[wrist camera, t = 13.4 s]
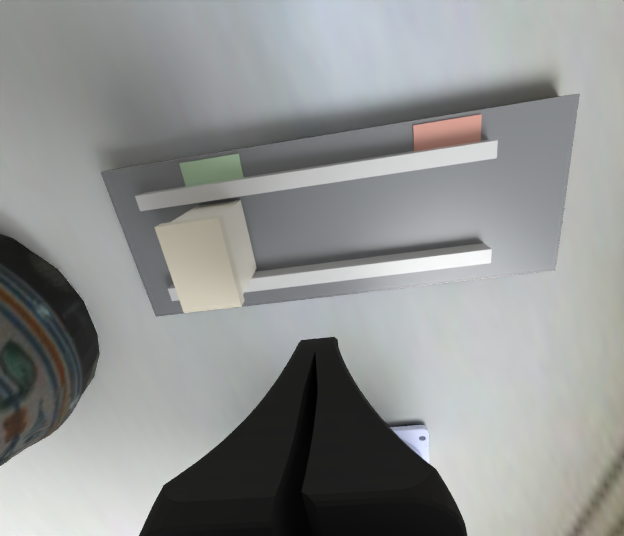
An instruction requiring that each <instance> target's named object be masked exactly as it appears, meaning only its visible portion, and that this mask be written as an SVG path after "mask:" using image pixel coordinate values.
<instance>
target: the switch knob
mask: <svg viewBox="0 0 624 536" xmlns="http://www.w3.org/2000/svg"><path fill="white" fill-rule="evenodd" d="M154 228H155V231H156V234H157V236H158V239H159V242H160V245H161V248H162V251H163V254H164V257H165V260H166V263H167V266H168V268H169V271H170V274H171V277H172V280H173V283H174V286H175V289H176V292H177V295H178V298H179V300H180V303H181V306H182V309H183V312H184V313H190V312H199V311H208V310H216V309H225V308H234V307H242V305H243V303H244V296H243V294H244V292H245V290H246V288H247V286H248V284H249V282H250V280H251V278H252V276H253V274H254V272H255V270H256V268H257V267H256V263H255V259H254V254H253V250H252V246H251V242H250V237H249V233H248V229H247V224H246V220H245V216H244V212H243V207H242V203H241V200H236V201H229V202H222V203H216V204H209V205H202V206H196V207H194V208H193V209H191V210H189V211H188V212H186V213H185V214H183V215H181V216H180V217H178V218H176V219H175V220H173V221H171V222H169V223H162V224H159V225H158V226H156V227H154Z"/></svg>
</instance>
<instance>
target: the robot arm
mask: <svg viewBox="0 0 624 536" xmlns="http://www.w3.org/2000/svg"><path fill="white" fill-rule="evenodd" d="M139 536H467V532H466V526H465V523H464V520H463V518H462V515H461V513H460V511H459V509H458V507H457V505H456V503H455V501H454V499H453V497H452V495H451V493H450V491H449V490H448V488H447V486H446V484H445V483H444V481H443V480H442V478H441V476H440V475H439V473H438V472H437V470H436V469H435V468H434V467H433V466H431V465H430V461H429V432H428V429H427V427H426V426H424V425H414V426H400V427H389V426H388V425H387V424H386V423H385V422H384V421H383V420H382V418H381V417H380V416H379V415H378V414H377V412H376V411H375V410H374V409H373V407H372V406H371V405H370V404H369V402H368V401H367V400H366V398H365V397H364V395H363V394H362V392H361V391H360V389H359V388H358V386H357V385H356V383H355V381H354V380H353V378H352V376H351V375H350V373H349V371H348V369H347V367H346V365H345V363H344V361H343V358H342V356H341V353H340V351H339V347H338V341H337V339H336V338H335V337H329V338H319V339H309V340H301V341H300V342H299V344H298V346H297V348H296V349H295V351H294V353H293V355H292V357H291V358H290V360H289V362H288V363H287V365H286V367H285V368H284V370H283V371H282V373H281V374H280V376H279V378H278V379H277V380H276V382H275V383H274V385H273V386H272V387H271V389H270V390H269V392H268V393H267V394H266V396H265V397H264V398H263V399H262V401H261V402H260V403H259V404H258V406H257V407H256V408H255V409H254V410H253V411H252V412H251V414H250V415H249V416H248V417H247V418H246V419H245V420H244V421H243V422H242V423H241V424H240V425H239V426H238V427H237V428H236V429H235V430H234V431H233V432H232V433H231V434H230V435H229V436H228V437H227V438H225V439H224V440H223V441H222V442H221V443H220V444H219V445H217V446H216V447H215V448H214V449H213V450H211V451H210V452H209V453H208V454H206V455H205V456H204V457H203V458H201V459H200V460H199V461H198V462H196V463H195V464H193V465H192V466H191V467H189V468H188V469H186V470H185V471H184V472H182V473H181V474H179V475H178V476H177V477H175V478H174V479H172V480H171V481H169V482H168V483H166V484H165V485H164V486H163V488H162V490H161V492H160V493H159V495H158V497H157V499H156V501H155V502H154V505H153V507H152V509H151V511H150V513H149V515H148V517H147V519H146V522H145V524H144V526H143V528H142V530H141V533H140V535H139Z"/></svg>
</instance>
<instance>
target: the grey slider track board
mask: <svg viewBox="0 0 624 536" xmlns="http://www.w3.org/2000/svg"><path fill="white" fill-rule="evenodd" d="M578 101H579V94H573V95H565V96H558V97H552V98H546V99H540V100H534V101H528V102H521V103H515V104H509V105H503V106H497V107H491V108H485V109H479V110H473V111H466V112H460V113H454V114H448V115H442V116H436V117H430V118H424V119H418V120H412V121H405V122H399V123H393V124H387V125H381V126H375V127H369V128H363V129H357V130H351V131H344V132H338V133H332V134H326V135H320V136H314V137H308V138H302V139H296V140H289V141H283V142H277V143H271V144H265V145H259V146H253V147H247V148H241V149H235V150H228V151H222V152H216V153H210V154H204V155H198V156H192V157H186V158H180V159H173V160H167V161H161V162H155V163H149V164H143V165H137V166H131V167H125V168H119V169H113V170H108V171H103V172H101V174H102V177H103V179H104V182H105V185H106V187H107V190H108V192H109V195H110V198H111V200H112V203H113V206H114V208H115V211H116V213H117V216H118V219H119V221H120V224H121V226H122V229H123V232H124V234H125V237H126V239H127V242H128V245H129V247H130V250H131V253H132V255H133V258H134V260H135V263H136V266H137V268H138V271H139V273H140V276H141V279H142V281H143V284H144V287H145V289H146V292H147V294H148V297H149V300H150V302H151V305H152V307H153V310H154V313H155V315H156V316H164V315H173V314H181V313H184V312H183V309H182V306H181V303H180V300H179V298H178V295H177V292H176V289H175V286H174V283H173V280H172V277H171V274H170V271H169V268H168V266H167V263H166V260H165V257H164V254H163V251H162V248H161V245H160V242H159V239H158V236H157V234H156V231H155V228H154V227H156V226H158V225H159V224H162V223H169V222H171V221H173V220H175V219H176V218H178V217H180V216H181V215H183V214H185V213H186V212H188V211H189V210H191V209H193V208H194V207H196V206H202V205H209V204H216V203H222V202H229V201H236V200H241V203H242V207H243V212H244V216H245V220H246V224H247V229H248V233H249V237H250V242H251V246H252V250H253V254H254V259H255V263H256V267H257V268H256V270H255V272H254V274H253V276H252V278H251V280H250V282H249V284H248V286H247V288H246V290H245V292H244V294H243V296H244V303H243V305H242V306H251V305H260V304H268V303H277V302H286V301H294V300H303V299H312V298H321V297H329V296H338V295H347V294H355V293H364V292H373V291H381V290H390V289H399V288H407V287H416V286H425V285H433V284H442V283H451V282H460V281H468V280H477V279H486V278H494V277H503V276H512V275H520V274H529V273H538V272H546V271H555V270H556V263H557V256H558V248H559V241H560V234H561V226H562V219H563V212H564V204H565V197H566V190H567V182H568V175H569V168H570V160H571V153H572V146H573V138H574V131H575V123H576V116H577V109H578Z"/></svg>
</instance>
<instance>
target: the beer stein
mask: <svg viewBox="0 0 624 536" xmlns="http://www.w3.org/2000/svg"><path fill="white" fill-rule="evenodd" d="M98 358H99V345H98V336H97V333H96V330H95V328H94V325H93V323H92V321H91V318H90V316H89V313H88V311H87V309H86V306H85V304H84V301H83V300H82V299H81V297H80V296H79V295H78V294H77V293H76V291H75V290H74V289H73V288H72V286H71V285H70V284H69V283H68V281H67V280H66V279H65V278H64V277H63V275H62V274H61V273H60V272H59V270H58V269H56V268H55V267H53V266H52V265H51V264H49V263H48V262H46V261H45V260H43V259H42V258H40V257H39V256H38V255H36V254H35V253H33V252H32V251H30V250H29V249H27V248H26V247H24V246H23V245H22V244H20V243H19V242H17V241H16V240H14V239H13V238H10V237H6V236H3V235H0V466H1V465H2V464H4V463H6V462H7V461H8V460H10V459H11V458H12V457H14V456H15V455H17V454H18V453H20V452H21V451H23V450H24V449H26V448H27V447H29V446H31V445H33V444H35V443H37V442H39V441H40V440H42V439H44V438H46V437H47V436H49V435H50V434H52V433H53V432H54V431H55V430H57V429H58V428H59V427H60V426H61V425H62V424H63V423H64V422H65V420H66V419H67V418H68V417H69V416H70V414H71V413H72V411H73V410H74V408H75V407H76V405H77V403H78V401H79V399H80V397H81V395H82V394H83V392H84V391H85V389H86V388H87V386H88V385H89V383H90V382H91V380H92V379H93V378H94V375H95V370H96V366H97V362H98Z"/></svg>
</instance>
